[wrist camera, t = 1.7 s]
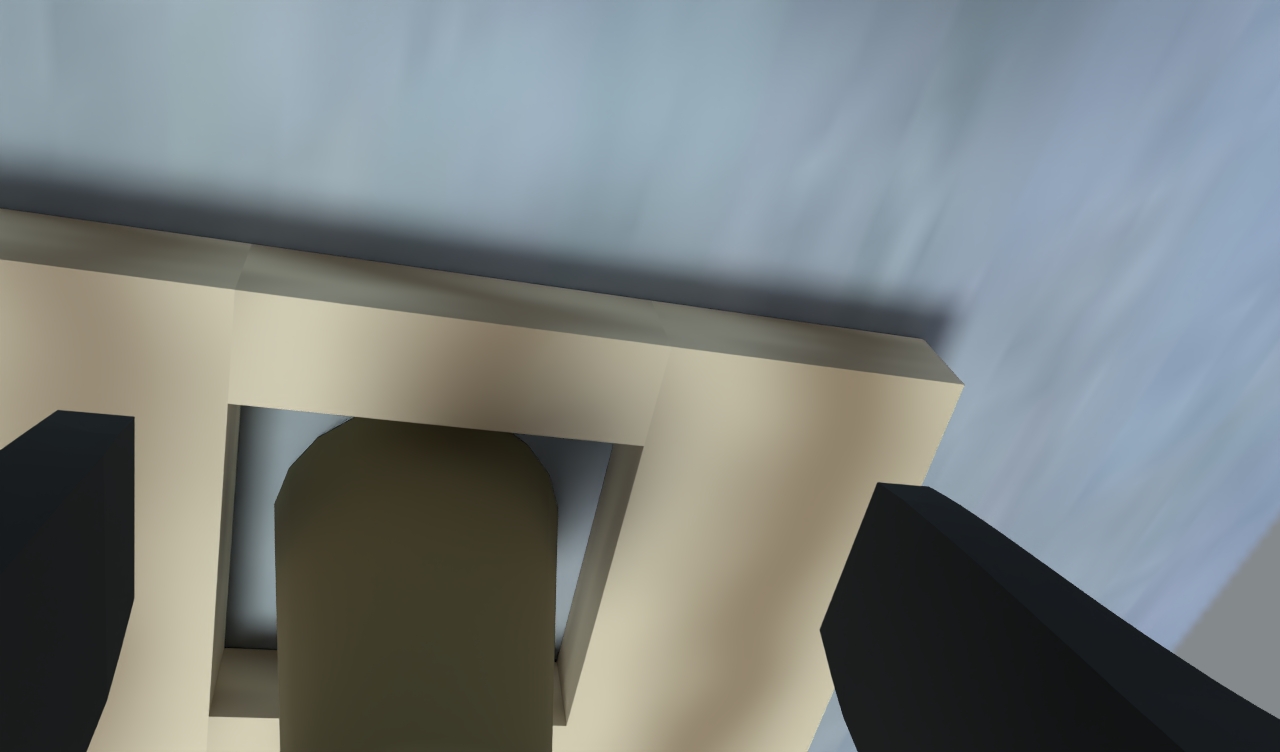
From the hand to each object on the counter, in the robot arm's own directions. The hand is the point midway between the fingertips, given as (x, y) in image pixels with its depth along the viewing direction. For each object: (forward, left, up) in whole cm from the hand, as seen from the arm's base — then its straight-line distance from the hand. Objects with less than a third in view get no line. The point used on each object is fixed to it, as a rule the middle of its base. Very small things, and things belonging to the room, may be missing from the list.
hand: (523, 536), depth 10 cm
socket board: (0, -8, -10) cm, 13 cm away
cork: (0, -8, -11) cm, 13 cm away
